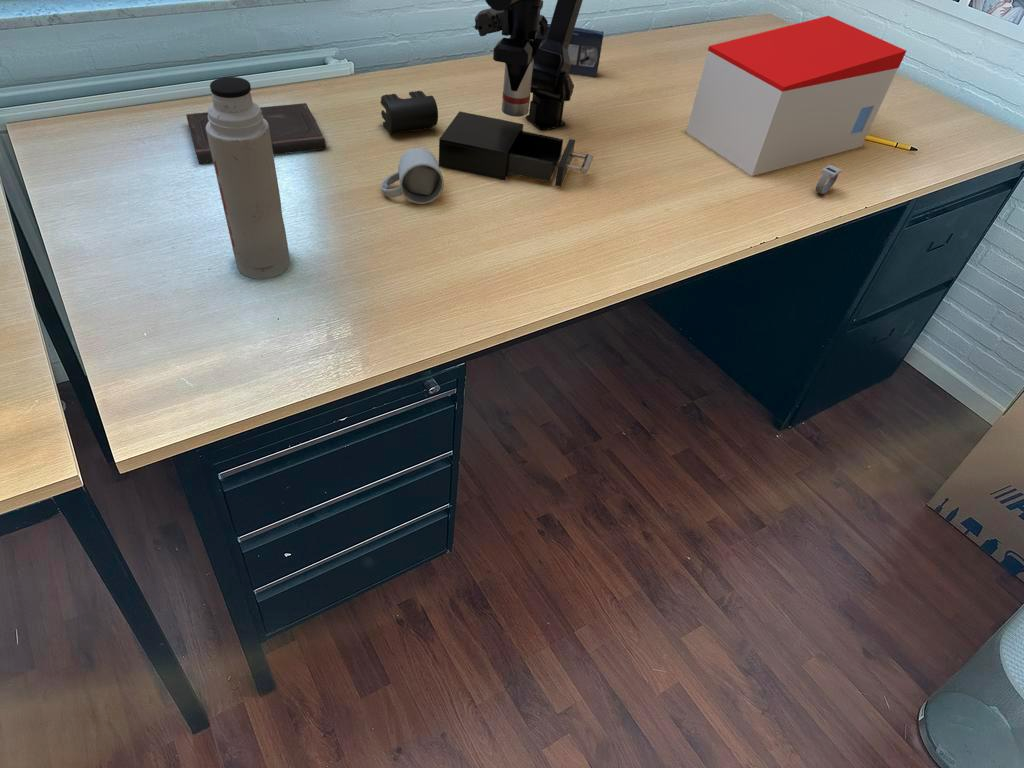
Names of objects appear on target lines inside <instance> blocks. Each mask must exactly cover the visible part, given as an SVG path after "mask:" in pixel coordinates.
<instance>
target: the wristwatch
mask: <svg viewBox="0 0 1024 768" xmlns="http://www.w3.org/2000/svg"><path fill="white" fill-rule="evenodd" d="M842 171H843V170H842V169H841V168H839V167H837V166H834V165H831V164H829V165H827V166H826V167H824V168H822V169H821V170H820V172H821V173H822V175H821V177H819V180H818V181H817V183H816V187H815V192H816V193H818V194H820V195H826V193H828V191H830V189H832V187H833V186H834V184H835V183H836V181H837V179H838V177H839V174H841V173H842Z"/></svg>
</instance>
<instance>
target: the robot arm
mask: <svg viewBox="0 0 1024 768" xmlns="http://www.w3.org/2000/svg"><path fill="white" fill-rule="evenodd" d="M484 1H485V2H486V4H487V6H489V8H485V9H482V10H480V11H479V12H478V13H477V14H476V16H474V29H475V30H476V31H477V32H478V34H479V37H486V36H487V35H488V34H494V33H499V32H501V36H505V37H502V38H501V39H500V40H499V41H498V42H497V43H496V45H495V46H494V47H493V56H492V59H493V61H495V62H498V63H503V64H506V65H507V70H508V75H509V80H510V86H511V90H512V91H517V90H518V88H519V86H520V84H521V82H522V79H523V77H524V75H525V73H526V71H527V69H528V67H529V65H530V63H531V61H532V58H533V59H534V62H533V72H532V82H531V91H530V94H532V97H531V100H530V101H529V110H528V114H527V115H525V119H526V120H527V121H529V122H530V123H531V124H533V125H534V126H535V127H536V128H537V129H538V130H540V131H546V130H551V129H556V128H562V127H566V122H565V121H563V113H564V108H565V107H564V106H565V102H570V101H571V97H572V95H573V93H574V87H575V84H574V83H573V80H572V77H571V76H570V75H571V74H569V71H570V67H571V63H570V59H569V54H568V47H569V44H570V40H571V37H572V34H573V30H574V27H575V28H576V23H577V20H578V17H579V14H580V11H581V8H582V4H583V1H584V0H557V1H556V4H555V7H554V11H553V14H552V17H551V21H550V23H549V22H548V20H547V18H546V17H545V15H544V14H543V15H542V14H541V10H542V9H543V7H544V0H484ZM547 24H550V27H549V31H548V34H547V37H546V40H545V42H544V43H543V44H542V45H541V43H542V40H543V39H542V38H538V37H537V35H538V34H539V32H540V31H541V36H544V35H545V34H546V32H547ZM540 45H541V46H540Z"/></svg>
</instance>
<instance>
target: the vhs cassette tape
mask: <svg viewBox="0 0 1024 768" xmlns="http://www.w3.org/2000/svg"><path fill="white" fill-rule="evenodd" d="M550 24H551V23H548V24H547V32H546V34H545V35H544V36H541V31H540V32H539V34H538V35H537V37H538V38H542V39H543V40H542V43H541V45H542V44H543V43H544V42H545V40H546V37H547V34H548V31H549V27H550ZM603 40H604V31H603V30H602V31H600V30H595V29H587V28H581V27H576V26H575V27H574V30H573V34H572V37H571V40H570V44H569V47H568V54H569V59H570V63H571V67H570V71H569V75H575V76H584V77H591V78H596V77H597V75H598V71H599V65H600V58H601V54H602V47H603ZM541 45H540V46H541Z"/></svg>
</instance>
